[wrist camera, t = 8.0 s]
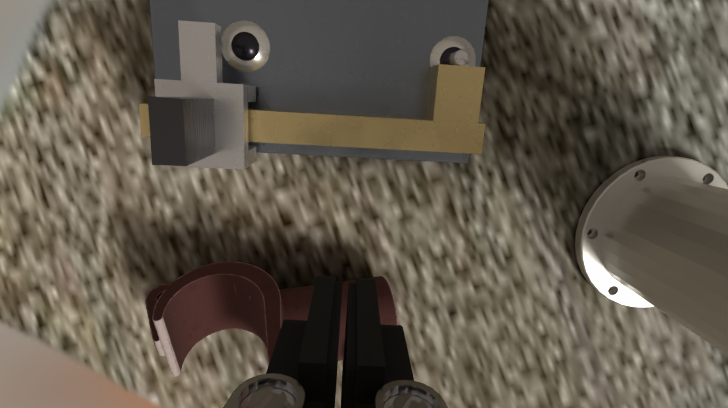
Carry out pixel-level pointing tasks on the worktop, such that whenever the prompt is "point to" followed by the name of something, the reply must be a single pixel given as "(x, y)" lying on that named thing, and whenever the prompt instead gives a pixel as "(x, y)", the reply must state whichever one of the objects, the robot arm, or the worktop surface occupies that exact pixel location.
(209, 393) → the worktop surface
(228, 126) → the slider
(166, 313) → the bracket
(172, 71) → the hole plate
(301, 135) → the beam
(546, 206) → the worktop surface
